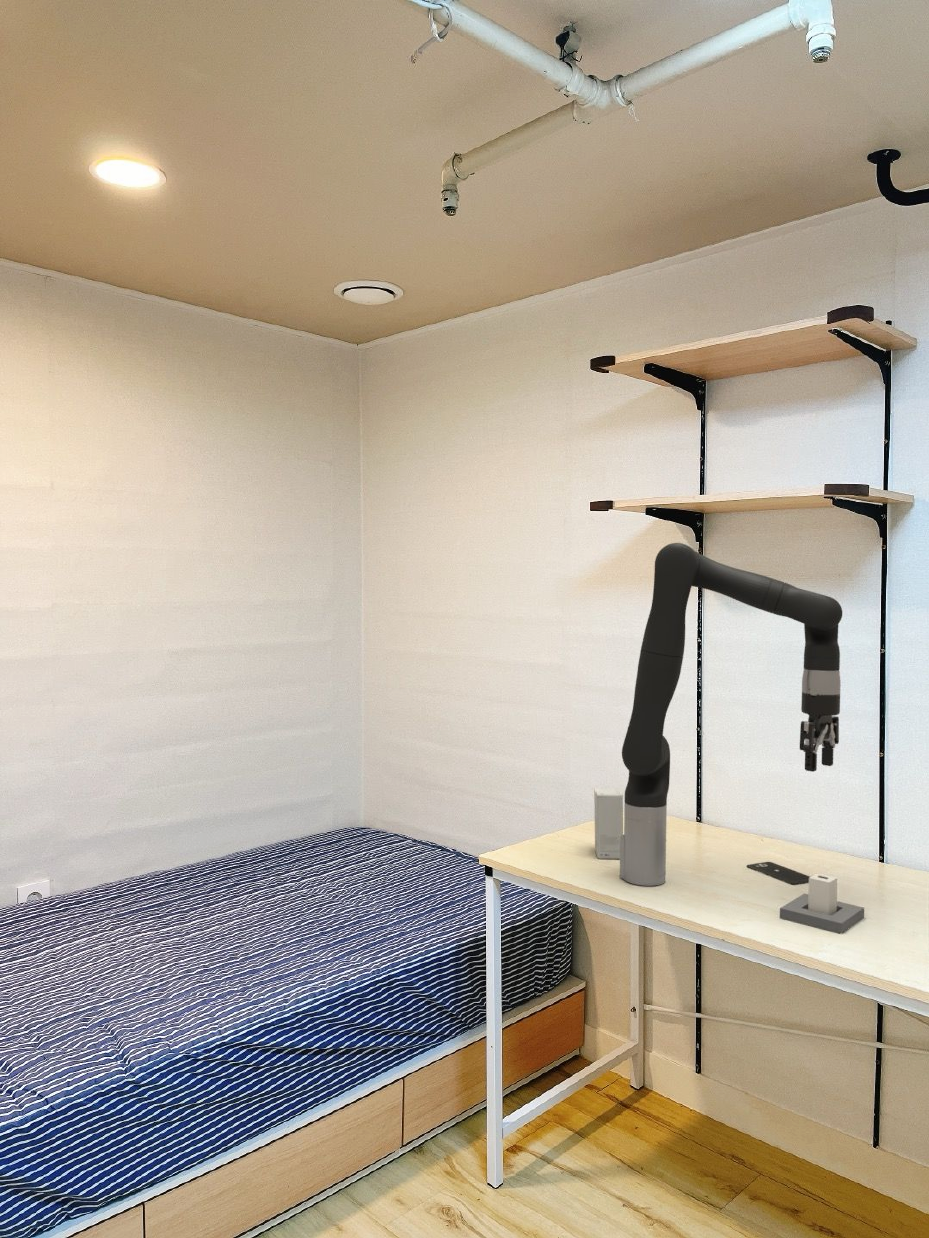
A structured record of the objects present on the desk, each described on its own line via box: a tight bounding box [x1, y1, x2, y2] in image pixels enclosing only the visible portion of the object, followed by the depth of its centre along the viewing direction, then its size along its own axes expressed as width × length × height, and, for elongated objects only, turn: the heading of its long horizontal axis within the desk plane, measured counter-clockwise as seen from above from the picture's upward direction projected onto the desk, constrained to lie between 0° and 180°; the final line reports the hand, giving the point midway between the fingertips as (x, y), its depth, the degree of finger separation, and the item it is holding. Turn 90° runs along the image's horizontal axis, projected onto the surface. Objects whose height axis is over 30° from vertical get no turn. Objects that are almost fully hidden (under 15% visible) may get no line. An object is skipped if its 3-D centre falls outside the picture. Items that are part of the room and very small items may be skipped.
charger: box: [808, 873, 838, 915], centre depth 179 cm, size 4×4×8 cm
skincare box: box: [593, 788, 624, 860], centre depth 221 cm, size 8×7×16 cm
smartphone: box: [746, 861, 811, 886], centre depth 208 cm, size 8×15×1 cm, turn 25°
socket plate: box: [779, 893, 865, 934], centre depth 179 cm, size 12×12×2 cm
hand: (819, 768), depth 190 cm, fingers open, 8 cm apart
